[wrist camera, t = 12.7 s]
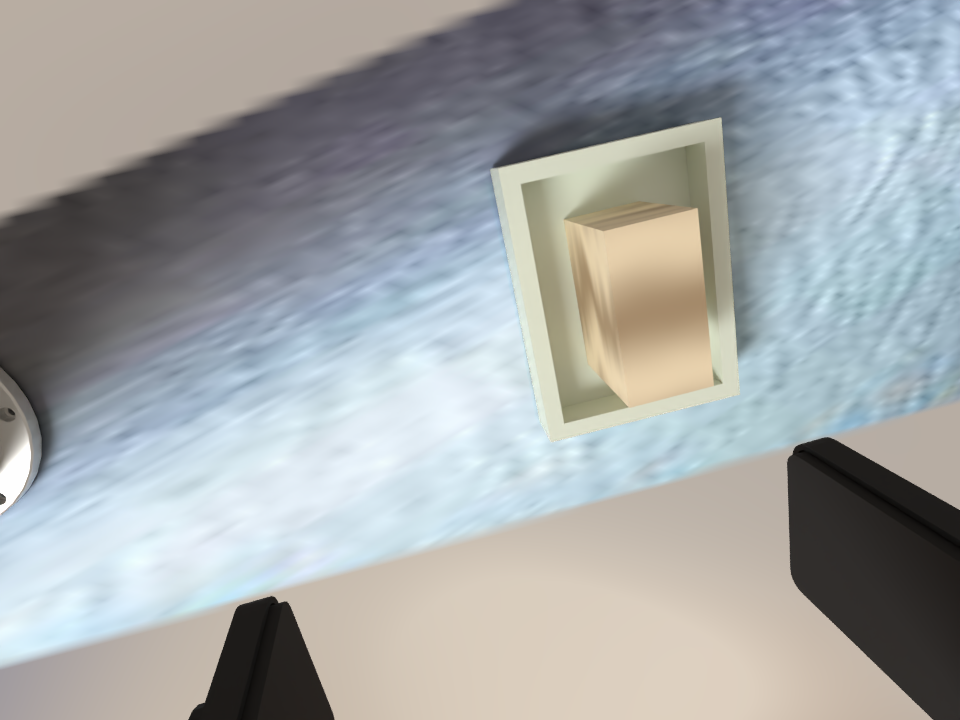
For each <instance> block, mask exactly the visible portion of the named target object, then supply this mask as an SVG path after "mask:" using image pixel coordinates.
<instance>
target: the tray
mask: <svg viewBox="0 0 960 720" xmlns="http://www.w3.org/2000/svg"><path fill="white" fill-rule="evenodd" d="M490 172H491V177H492V182H493V187H494V192H495V197H496V202H497V207H498V213H499V218H500V223H501V228H502V233H503V238H504V243H505V248H506V253H507V258H508V263H509V268H510V273H511V278H512V283H513V288H514V293H515V299H516V304H517V309H518V314H519V319H520V324H521V329H522V334H523V339H524V344H525V349H526V354H527V359H528V364H529V369H530V374H531V379H532V385H533V390H534V395H535V400H536V405H537V410H538V415H539V420H540V423H541V425H542V427H543V429H544V431H545V432H546V434H547V436H548V438H549V440H550V442H554V441H558V440H562V439H566V438H570V437H574V436H578V435H582V434H586V433H590V432H594V431H598V430H602V429H606V428H610V427H614V426H618V425H621V424H625V423H629V422H633V421H637V420H641V419H645V418H649V417H653V416H657V415H661V414H665V413H669V412H673V411H677V410H681V409H685V408H689V407H693V406H696V405H700V404H704V403H708V402H712V401H716V400H720V399H724V398H728V397H732V396H736V395H740V390H739V375H738V360H737V345H736V330H735V315H734V300H733V285H732V269H731V254H730V239H729V224H728V209H727V194H726V179H725V164H724V149H723V134H722V119H721V118H715V119H710V120H704V121H699V122H693V123H689V124H684V125H680V126H676V127H671V128H667V129H663V130H658V131H654V132H649V133H645V134H641V135H636V136H632V137H628V138H623V139H619V140H614V141H610V142H606V143H601V144H597V145H593V146H588V147H584V148H579V149H575V150H571V151H566V152H562V153H558V154H553V155H549V156H545V157H540V158H536V159H531V160H527V161H523V162H518V163H514V164H510V165H505V166H501V167H496V168H492V169H490ZM638 201H641V202H649V203H658V204H667V205H675V206H684V207H692V208H698V217H699V228H700V239H701V250H702V261H703V271H704V282H705V293H706V304H707V315H708V326H709V337H710V348H711V359H712V370H713V381H714V386H712V387H708V388H704V389H700V390H697V391H693V392H689V393H685V394H681V395H677V396H673V397H670V398H666V399H662V400H658V401H654V402H650V403H647V404H643V405H639V406H635V407H631V408H629V407H628V406H627V405H626V404H625V403H624V402H623V401H622V400H621V399H620V397H619V396H618V395H617V394H616V393H615V392H614V391H613V390H612V389H611V388H610V387H609V386H608V385H607V384H606V383H605V382H604V381H603V380H602V379H601V378H600V376H599V375H598V374H597V373H596V372H595V371H594V370H593V369H592V368H591V367H590V366H589V365H588V362H587V356H586V350H585V344H584V338H583V332H582V326H581V320H580V315H579V309H578V303H577V297H576V291H575V285H574V279H573V273H572V267H571V261H570V256H569V250H568V244H567V238H566V232H565V226H564V219H568V218H572V217H576V216H580V215H584V214H589V213H593V212H597V211H601V210H605V209H609V208H613V207H617V206H621V205H626V204H630V203H634V202H638Z"/></svg>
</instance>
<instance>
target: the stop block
mask: <svg viewBox="0 0 960 720" xmlns="http://www.w3.org/2000/svg"><path fill="white" fill-rule="evenodd" d="M564 226H565V232H566V238H567V244H568V250H569V256H570V261H571V267H572V273H573V279H574V285H575V291H576V297H577V303H578V309H579V315H580V320H581V326H582V332H583V338H584V344H585V350H586V356H587V362H588V365H589V366H590V367H591V368H592V369H593V370H594V371H595V372H596V373H597V374H598V375H599V376H600V378H601V379H602V380H603V381H604V382H605V383H606V384H607V385H608V386H609V387H610V388H611V389H612V390H613V391H614V392H615V393H616V394H617V395H618V396H619V397H620V399H621V400H622V401H623V402H624V403H625V404H626V405H627V406H628V407H629V408H631V407H635V406H639V405H643V404H647V403H650V402H654V401H658V400H662V399H666V398H670V397H673V396H677V395H681V394H685V393H689V392H693V391H697V390H700V389H704V388H708V387H712V386H714V381H713V370H712V359H711V348H710V337H709V326H708V315H707V304H706V293H705V282H704V271H703V261H702V250H701V239H700V228H699V217H698V208H692V207H684V206H675V205H667V204H658V203H649V202H641V201H638V202H634V203H630V204H626V205H621V206H617V207H613V208H609V209H605V210H601V211H597V212H593V213H589V214H584V215H580V216H576V217H572V218H568V219H564Z"/></svg>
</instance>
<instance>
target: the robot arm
mask: <svg viewBox="0 0 960 720" xmlns="http://www.w3.org/2000/svg"><path fill="white" fill-rule="evenodd" d="M41 457H42V438H41V433H40V429H39V425H38V421H37V418H36V416H35V413H34V411H33V409H32V407H31V405H30V403H29V400H28V399H27V398H26V396H25V395H24V393H23V392H22V391H21V389H20V388H19V386H18V385H17V384H16V382H15V381H14V380H13V379H12V378H11V377H10V376H9V375H8V374H7V373H6V372H5V371H4V370H3V369H2V368H1V367H0V515H2V514H3V513H4V512H6V511H7V510H8V509H9V508H10V507H12V506H13V505H14V504H15V503H17V502H18V501H19V500H20V498H21V497H22V496H23V495H24V494H25V493H26V492H27V491H28V489H29V488H30V486H31V484H32V482H33V481H34V479H35V477H36V475H37V473H38V469H39V465H40V461H41ZM787 471H788V502H789V503H788V504H789V533H790V536H789V537H790V567H791V568H790V569H791V575H792V578H793V580H794V582H795V584H796V586H797V587H798V589H799V590H800V591H801V592H802V593H803V594H804V595H805V596H806V597H807V598H808V599H809V600H810V601H811V602H812V603H813V604H814V605H815V606H816V607H817V608H818V609H819V610H820V611H821V612H822V613H823V614H825V615H826V616H827V617H828V618H829V619H830V620H831V621H832V622H833V623H834V624H835V625H836V626H837V627H838V628H839V629H840V630H841V631H842V632H843V633H844V634H845V635H846V636H847V637H848V638H849V639H850V640H851V641H852V642H854V643H855V645H856V646H858V647H859V648H860V649H861V650H862V651H863V652H864V653H865V654H866V655H867V656H868V657H869V658H870V659H871V660H872V661H873V662H874V663H875V664H876V665H877V666H878V667H879V668H881V670H882V671H883V672H884V673H885V674H887V675H888V676H889V677H890V678H891V679H892V680H893V681H894V682H895V683H896V684H897V685H898V686H899V687H900V688H901V689H902V690H903V691H904V692H905V693H906V694H907V695H908V696H909V697H910V698H911V699H912V700H913V701H914V702H915V703H917V705H919V706H920V707H921V708H922V709H923V710H924V711H925V712H926V713H927V714H928V715H929V716H930V717H931V718H932V719H933V720H960V510H959V509H957V508H955V507H953V506H952V505H949V504H948V503H946V502H944V501H943V500H941V499H939V498H937V497H936V496H934V495H932V494H930V493H928V492H927V491H925V490H923V489H921V488H920V487H918V486H916V485H914V484H912V483H911V482H909V481H907V480H905V479H904V478H902V477H900V476H898V475H896V474H895V473H893V472H891V471H889V470H888V469H886V468H884V467H882V466H881V465H879V464H877V463H875V462H873V461H872V460H870V459H868V458H866V457H865V456H863V455H861V454H859V453H858V452H856V451H854V450H852V449H850V448H849V447H847V446H845V445H843V444H841V443H840V442H838V441H836V440H834V439H832V438H829V437H826V438H821V439H818V440H814V441H811V442H807V443H804V444H800V445H798V446H796V447H795V449H794V451H793V455H792V456H790V457H789V458H788V462H787ZM188 720H334V716H333V712H332V710H331V707H330V705H329V702H328V700H327V697H326V695H325V692H324V690H323V687H322V685H321V682H320V680H319V677H318V675H317V672H316V669H315V667H314V665H313V662H312V660H311V657H310V655H309V652H308V650H307V647H306V644H305V642H304V639H303V637H302V634H301V632H300V629H299V627H298V624H297V622H296V619H295V617H294V614H293V612H292V609H291V607H290V605H289V603H287V602H281V603H278V601H277V599H276V598H275V597H272V596H271V597H267V598H263V599H260V600H256V601H253V602H250V603H246V604H242V605H240V606H238V607H237V609H236V611H235V613H234V616H233V619H232V622H231V625H230V628H229V632H228V634H227V637H226V641H225V644H224V647H223V650H222V653H221V656H220V659H219V662H218V665H217V668H216V671H215V674H214V677H213V680H212V683H211V686H210V690H209V692H208V695H207V698H206V701H205V703H202V704H199V705H198V706H197V707H196V708H195V709H194V710H193V711H192V713H191V715H190V717H189V719H188Z"/></svg>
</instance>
